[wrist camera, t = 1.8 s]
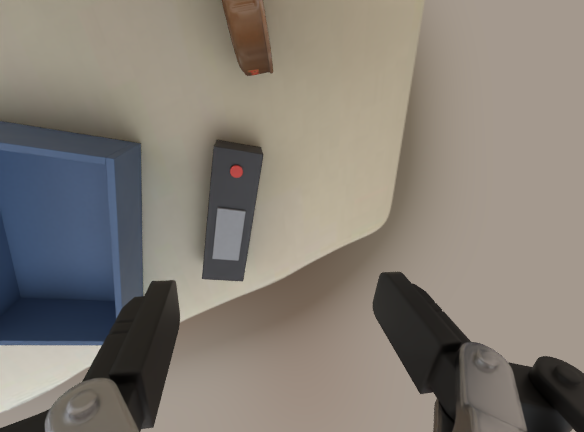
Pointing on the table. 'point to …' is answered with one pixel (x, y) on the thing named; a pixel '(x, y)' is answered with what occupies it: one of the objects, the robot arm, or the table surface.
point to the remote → (231, 209)
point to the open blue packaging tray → (67, 234)
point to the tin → (249, 35)
